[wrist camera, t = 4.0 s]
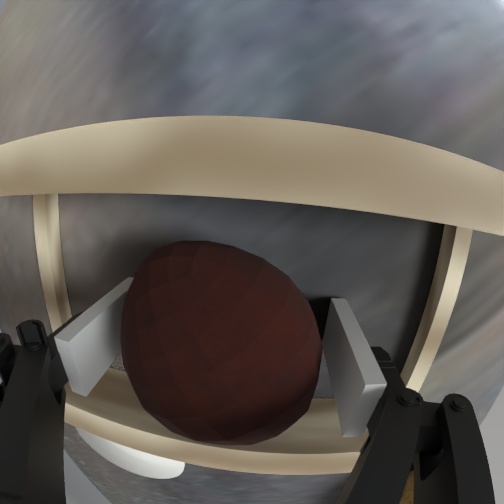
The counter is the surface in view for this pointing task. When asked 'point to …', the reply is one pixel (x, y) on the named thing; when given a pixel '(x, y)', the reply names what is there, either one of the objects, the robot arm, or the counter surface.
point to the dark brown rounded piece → (219, 344)
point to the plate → (133, 458)
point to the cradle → (258, 188)
